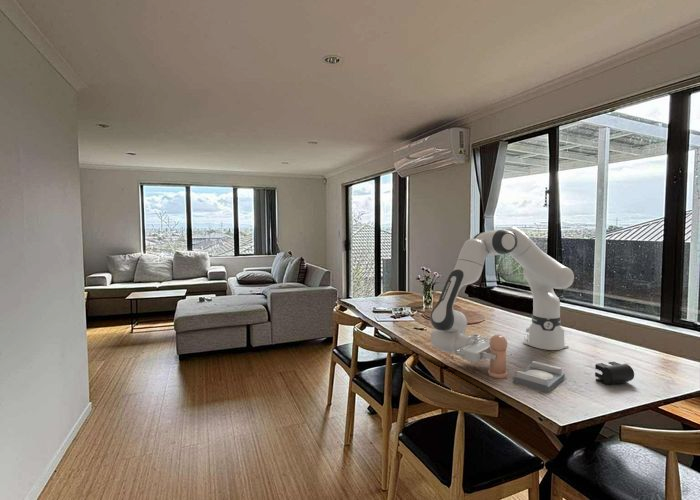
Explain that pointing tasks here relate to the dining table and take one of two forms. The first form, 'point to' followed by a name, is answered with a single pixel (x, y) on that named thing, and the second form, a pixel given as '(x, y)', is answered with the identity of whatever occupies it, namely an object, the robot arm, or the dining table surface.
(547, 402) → the dining table surface
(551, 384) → the display plinth
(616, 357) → the dining table surface
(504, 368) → the ball-topped peg
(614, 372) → the end cap
